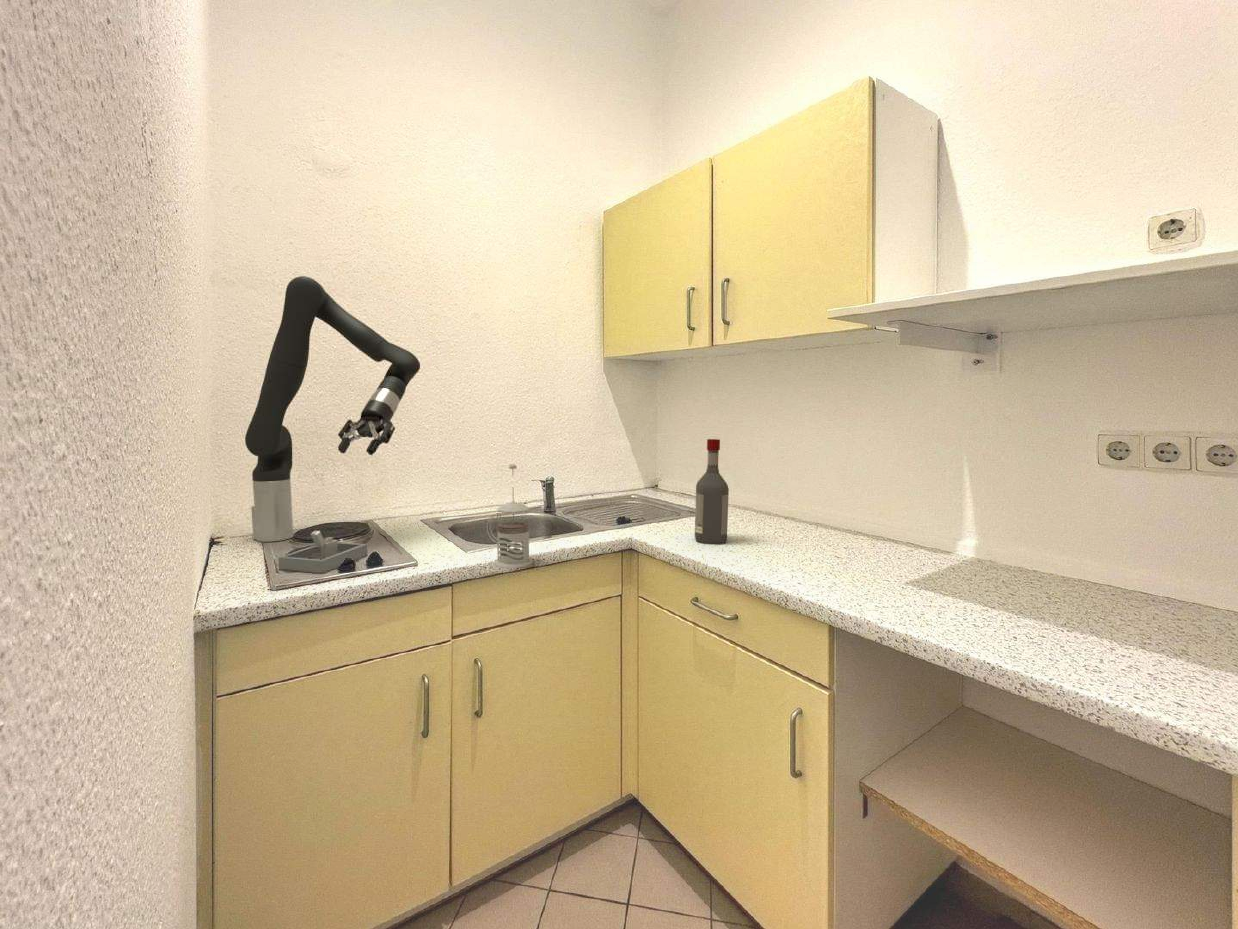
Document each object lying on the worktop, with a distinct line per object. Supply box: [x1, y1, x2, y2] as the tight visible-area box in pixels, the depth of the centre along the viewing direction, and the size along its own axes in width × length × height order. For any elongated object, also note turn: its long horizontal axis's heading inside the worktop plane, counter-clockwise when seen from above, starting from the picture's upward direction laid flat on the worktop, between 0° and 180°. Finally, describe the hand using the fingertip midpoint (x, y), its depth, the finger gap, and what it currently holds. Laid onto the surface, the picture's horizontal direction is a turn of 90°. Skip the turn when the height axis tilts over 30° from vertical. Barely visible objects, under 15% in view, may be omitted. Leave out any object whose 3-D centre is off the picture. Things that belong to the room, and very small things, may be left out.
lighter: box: [310, 530, 338, 560], centre depth 139 cm, size 7×2×8 cm, turn 168°
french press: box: [486, 463, 534, 569], centre depth 141 cm, size 10×12×25 cm
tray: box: [277, 541, 368, 575], centre depth 140 cm, size 12×16×3 cm
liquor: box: [694, 438, 730, 545], centre depth 165 cm, size 9×9×30 cm
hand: (354, 452), depth 149 cm, fingers open, 8 cm apart
